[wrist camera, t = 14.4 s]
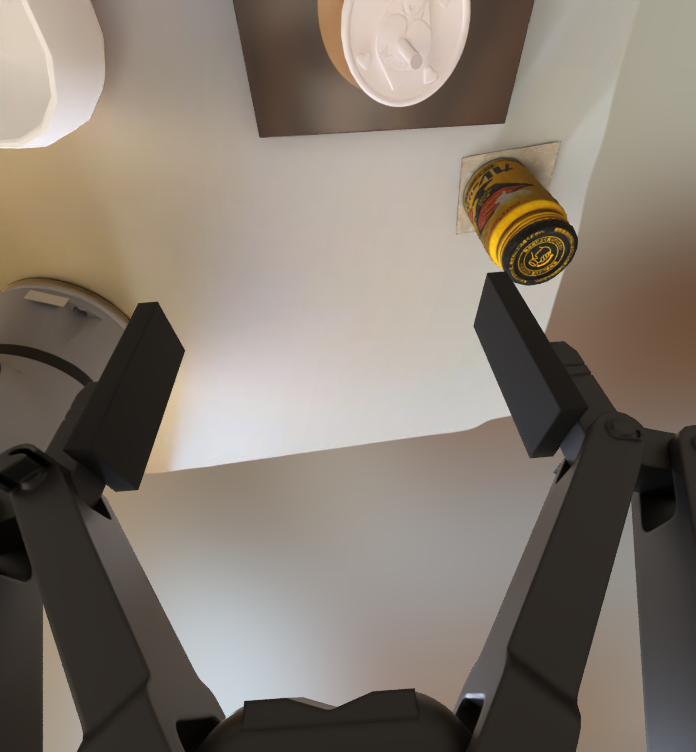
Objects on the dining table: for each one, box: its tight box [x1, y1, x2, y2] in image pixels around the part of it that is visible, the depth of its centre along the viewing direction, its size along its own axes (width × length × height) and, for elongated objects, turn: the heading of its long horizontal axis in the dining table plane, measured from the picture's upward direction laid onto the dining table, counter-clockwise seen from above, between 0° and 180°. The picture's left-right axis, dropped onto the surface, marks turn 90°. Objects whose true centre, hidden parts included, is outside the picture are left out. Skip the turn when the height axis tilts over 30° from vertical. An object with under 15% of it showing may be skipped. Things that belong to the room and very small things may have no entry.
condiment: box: [456, 141, 578, 286], centre depth 31 cm, size 7×8×12 cm
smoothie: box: [341, 0, 470, 107], centre depth 20 cm, size 6×6×14 cm
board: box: [233, 0, 534, 138], centre depth 25 cm, size 20×14×2 cm
